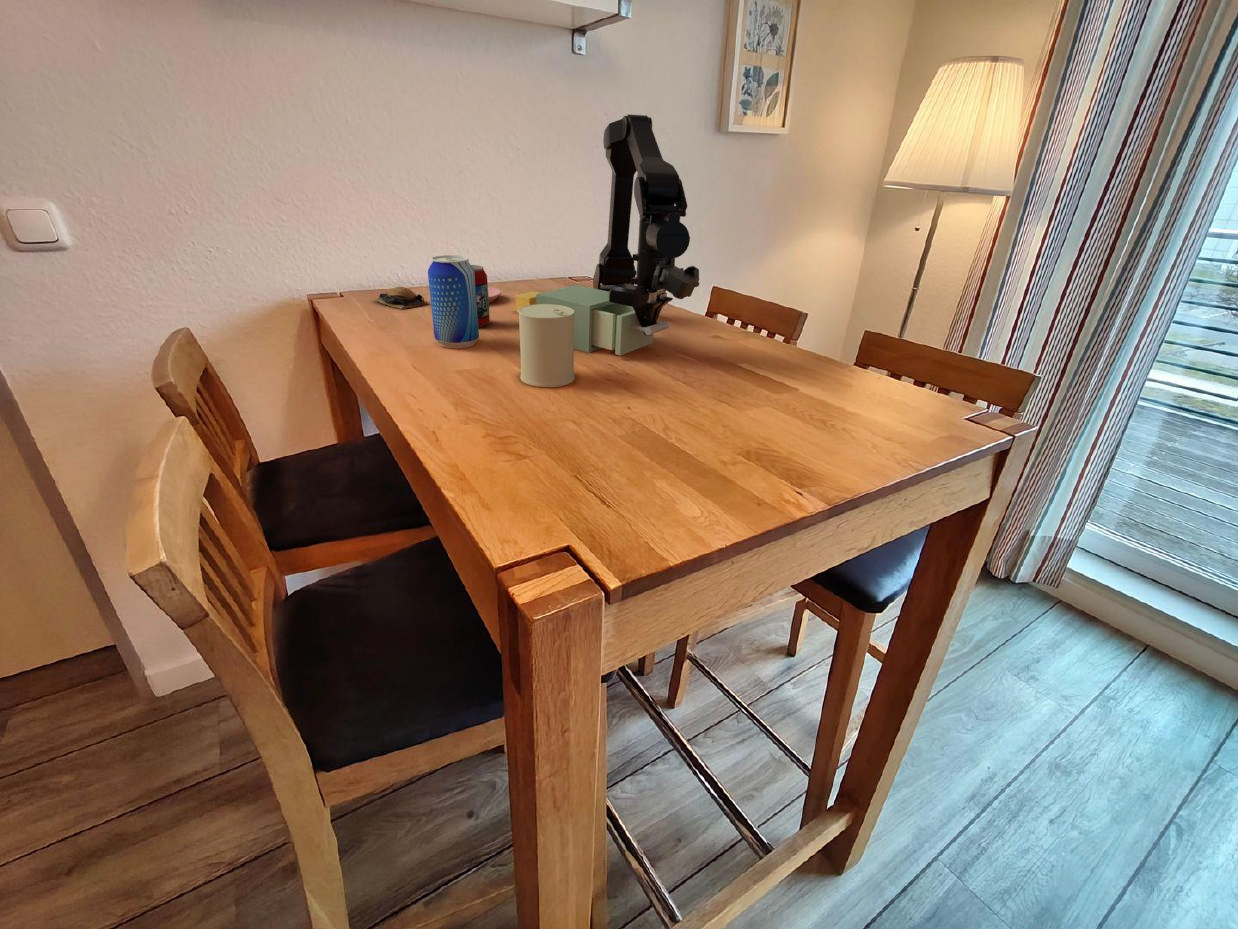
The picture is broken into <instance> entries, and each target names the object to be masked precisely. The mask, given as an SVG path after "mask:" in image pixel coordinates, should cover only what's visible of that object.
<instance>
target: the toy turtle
mask: <svg viewBox="0 0 1238 929" xmlns="http://www.w3.org/2000/svg"><path fill="white" fill-rule="evenodd" d="M374 300H375V302H377V303H379V304H383V305H385V306H389V307H391V308H396V309H399V310H405V309H406V310H407V309H410V308H411V309H413V308H415V307H420V306H425V305H428V303H427V302H426V301H425V298H424V297H423V296H422V295H421V294H419V293H415V292H414V291H413V290H412V289H410V288H408V287H405V286H395V287H391V288H389V289H387V290H386V291H385V293H380V294H379V296H378V297H376V298H375V299H374Z"/></svg>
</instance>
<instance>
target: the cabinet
mask: <svg viewBox="0 0 1238 929" xmlns="http://www.w3.org/2000/svg"><path fill="white" fill-rule="evenodd" d="M536 303H537V304H554V305H562V306H566V307H569V308H572V309H573V310H574V311H575V314H574V350H577V351H581V352H584V353H588V354H590V353H592V352H595V351H598V350H602V348H601V347H597V346H594V345H591V343H592V309H595V308H599V307H603V306H606V305H610V304H614V303H612V302H609V292H608V291H603V290H599V289H594V288H593V287H589V286H583V285H579V284H575V285H570V286H566V287H561V288H555V289H552V290H547V291H543V292H538V294H536Z"/></svg>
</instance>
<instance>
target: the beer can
mask: <svg viewBox="0 0 1238 929" xmlns="http://www.w3.org/2000/svg"><path fill="white" fill-rule="evenodd" d="M471 265H472V264H471V263H470V262H469V257H467V256H463V255H452V254H450V255H445V254H444V255H436V256H432V258H431V263H430V265H429V267H428V269H427V279H428V289H429V297H430V308H431V316H432V327H433V335H434V340H436V341H437V342H438V344H439V346H440V347H442V348H446V349H455V350H457V349H458V350H459V349H467V348H471V347H473V346H475V345H476V343H477V340H479V337H480V332H479V330H480V329H479V327H478V315H477V300H476V286H475V272H474V269H473V268H472V266H471Z"/></svg>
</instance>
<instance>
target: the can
mask: <svg viewBox="0 0 1238 929" xmlns="http://www.w3.org/2000/svg"><path fill="white" fill-rule="evenodd" d="M517 314H518V324H519V326H518V327H519V350H520V352H519V353H520V375H519V377H520V381H522V382H523V383H524V384H526V385H527V386H528V385H529V386H532V387H537V388H559V387H562V386H563V387H564V386H567V385H569V384H571V383H573V382H574V381H575V369H574V368H575V367H574V366H575V365H574V364H575V363H574V362H575V361H574V360H575V359H574V358H575V356H574V352H575V349H574V314H575V311H574V310H573V309H572V308H569V307H566V306H562V305H554V304H535V305H528V306H524V307H522V308H520V309H519V310H518V313H517Z"/></svg>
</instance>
